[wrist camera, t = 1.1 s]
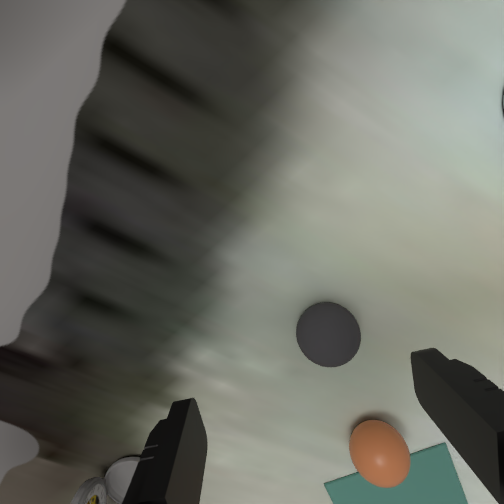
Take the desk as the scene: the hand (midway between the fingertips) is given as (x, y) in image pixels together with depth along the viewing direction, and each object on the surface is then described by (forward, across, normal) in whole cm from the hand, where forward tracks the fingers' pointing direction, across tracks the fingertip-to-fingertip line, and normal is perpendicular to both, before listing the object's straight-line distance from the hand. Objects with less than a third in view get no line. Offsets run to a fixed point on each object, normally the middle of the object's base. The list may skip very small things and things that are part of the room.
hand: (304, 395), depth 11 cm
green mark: (+17, -9, +32) cm, 37 cm away
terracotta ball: (+14, -6, +20) cm, 25 cm away
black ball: (+14, -4, +6) cm, 16 cm away
